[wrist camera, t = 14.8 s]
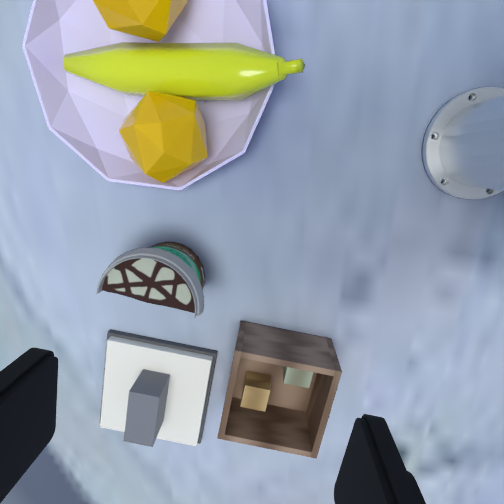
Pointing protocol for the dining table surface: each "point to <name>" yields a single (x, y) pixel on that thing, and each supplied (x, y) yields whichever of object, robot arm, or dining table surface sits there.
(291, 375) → the sage block
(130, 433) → the lid
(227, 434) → the storage box
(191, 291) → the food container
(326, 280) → the dining table surface
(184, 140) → the fruit bowl
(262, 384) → the ochre block
